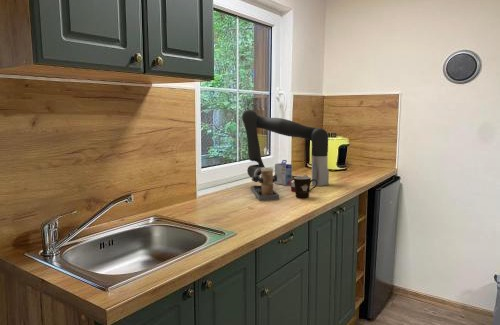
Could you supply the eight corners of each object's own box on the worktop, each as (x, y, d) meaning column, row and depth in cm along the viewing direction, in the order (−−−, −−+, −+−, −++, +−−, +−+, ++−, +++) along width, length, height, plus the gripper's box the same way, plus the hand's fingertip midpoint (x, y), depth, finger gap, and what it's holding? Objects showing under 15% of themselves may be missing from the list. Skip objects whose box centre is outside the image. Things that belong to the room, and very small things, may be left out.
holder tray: (268, 189, 209) (268, 185, 209) (279, 199, 183) (279, 194, 183) (251, 190, 207) (250, 186, 207) (259, 200, 182) (259, 195, 182)
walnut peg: (271, 194, 190) (270, 167, 188) (273, 196, 185) (272, 168, 183) (261, 194, 189) (260, 167, 188) (263, 196, 185) (262, 169, 183)
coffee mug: (292, 198, 185) (292, 179, 183) (294, 195, 193) (294, 176, 192) (316, 199, 182) (316, 179, 181) (317, 195, 190) (317, 176, 189)
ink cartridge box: (292, 184, 222) (292, 160, 220) (285, 185, 219) (285, 161, 217) (280, 182, 230) (280, 159, 228) (274, 183, 226) (274, 160, 225)
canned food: (308, 200, 201) (309, 186, 195) (289, 198, 202) (290, 184, 196) (309, 187, 209) (311, 173, 204) (292, 185, 211) (292, 171, 205)
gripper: (248, 168, 199) (253, 173, 182) (274, 167, 201) (282, 172, 184) (248, 182, 200) (254, 188, 183) (274, 181, 202) (282, 187, 185)
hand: (268, 180), depth 184 cm, fingers closed on walnut peg, 5 cm apart
